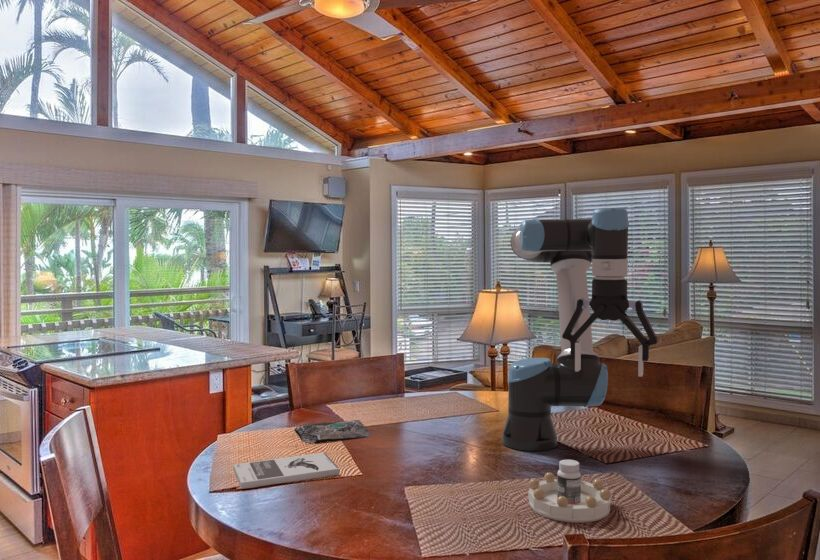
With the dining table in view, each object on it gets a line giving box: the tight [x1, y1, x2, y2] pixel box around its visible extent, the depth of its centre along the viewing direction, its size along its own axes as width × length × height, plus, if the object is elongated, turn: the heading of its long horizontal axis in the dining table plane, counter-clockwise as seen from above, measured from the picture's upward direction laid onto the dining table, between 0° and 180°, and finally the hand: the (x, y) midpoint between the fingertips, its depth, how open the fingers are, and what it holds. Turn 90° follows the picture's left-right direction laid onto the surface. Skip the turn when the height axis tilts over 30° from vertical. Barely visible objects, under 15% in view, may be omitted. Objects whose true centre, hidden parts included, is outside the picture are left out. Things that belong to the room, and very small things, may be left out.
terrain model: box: [294, 419, 372, 445], centre depth 187 cm, size 20×15×3 cm
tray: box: [527, 472, 612, 524], centre depth 132 cm, size 17×17×5 cm
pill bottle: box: [556, 459, 582, 506], centre depth 132 cm, size 5×5×8 cm
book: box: [232, 452, 340, 490], centre depth 154 cm, size 23×14×2 cm, turn 113°
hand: (608, 373), depth 141 cm, fingers open, 13 cm apart
